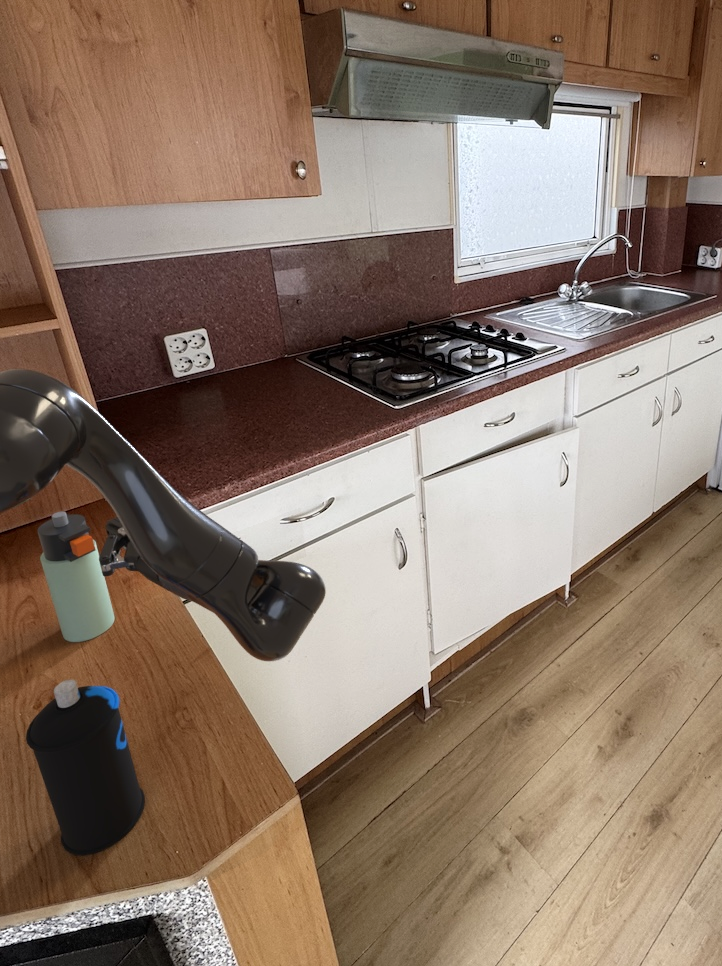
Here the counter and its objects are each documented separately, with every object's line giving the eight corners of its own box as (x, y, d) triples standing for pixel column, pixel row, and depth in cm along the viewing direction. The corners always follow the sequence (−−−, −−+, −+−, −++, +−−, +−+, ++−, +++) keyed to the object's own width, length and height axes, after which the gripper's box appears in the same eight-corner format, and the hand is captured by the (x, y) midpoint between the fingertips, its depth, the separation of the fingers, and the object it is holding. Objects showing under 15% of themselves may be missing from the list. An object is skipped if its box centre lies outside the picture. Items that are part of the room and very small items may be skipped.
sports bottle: (53, 631, 95) (19, 518, 88) (100, 606, 101) (71, 498, 94) (80, 650, 91) (47, 534, 84) (127, 623, 97) (100, 511, 90)
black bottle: (85, 872, 62) (39, 734, 55) (46, 831, 66) (-1, 698, 59) (160, 805, 69) (127, 675, 62) (120, 772, 73) (85, 646, 66)
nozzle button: (72, 553, 88) (69, 541, 87) (89, 545, 90) (86, 533, 89) (78, 557, 87) (75, 544, 87) (95, 549, 89) (92, 536, 89)
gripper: (232, 514, 77) (154, 481, 85) (132, 566, 67) (53, 523, 74) (238, 561, 80) (162, 525, 88) (143, 619, 69) (66, 572, 77)
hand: (112, 524), depth 81 cm, fingers closed
